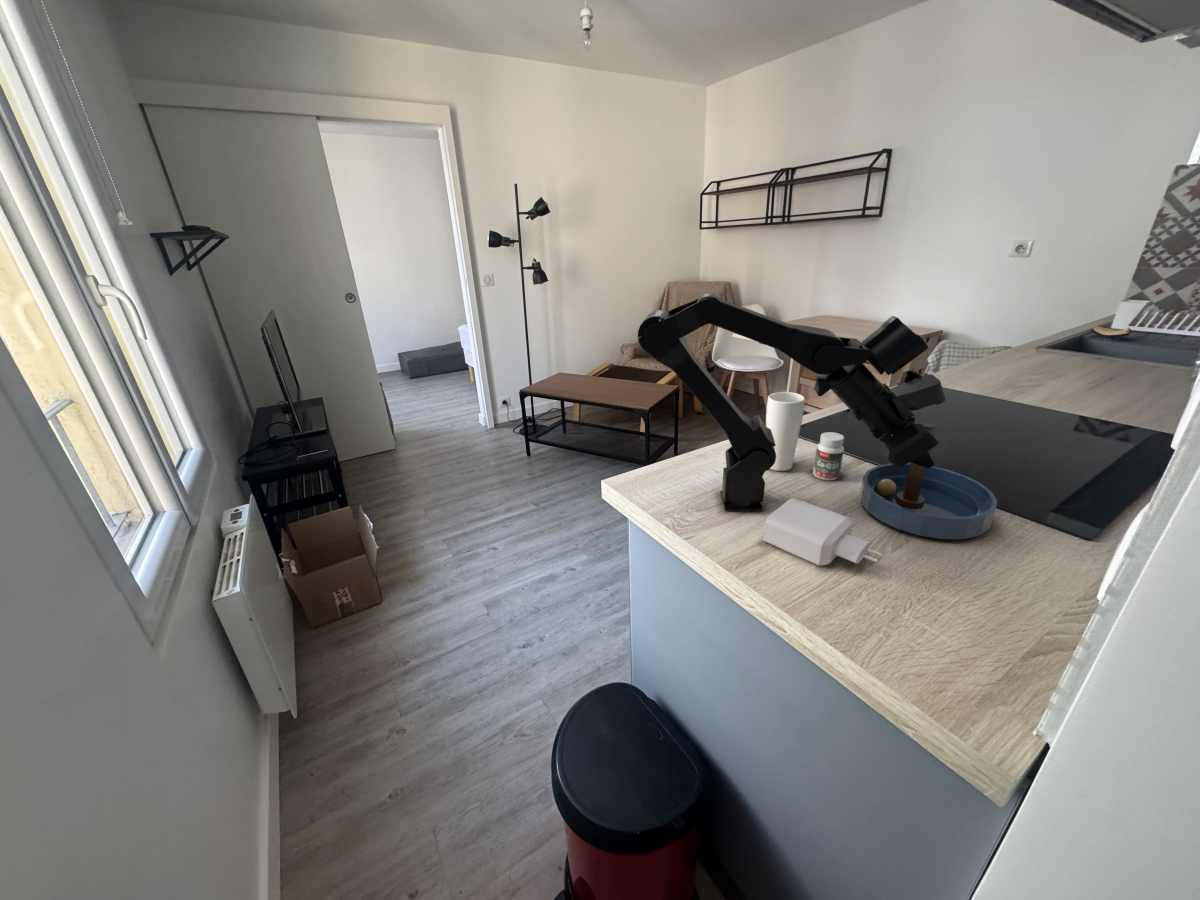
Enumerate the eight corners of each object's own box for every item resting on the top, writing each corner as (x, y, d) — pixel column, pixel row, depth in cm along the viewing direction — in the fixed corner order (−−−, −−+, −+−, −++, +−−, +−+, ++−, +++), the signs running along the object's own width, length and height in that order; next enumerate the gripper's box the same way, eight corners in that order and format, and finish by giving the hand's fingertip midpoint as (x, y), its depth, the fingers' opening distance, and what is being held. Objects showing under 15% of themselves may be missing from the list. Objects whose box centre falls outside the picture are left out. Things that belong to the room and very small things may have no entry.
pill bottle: (812, 479, 91) (818, 439, 87) (812, 468, 94) (818, 430, 91) (839, 482, 89) (847, 442, 85) (838, 471, 93) (845, 432, 89)
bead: (878, 487, 80) (871, 493, 83) (896, 495, 79) (888, 501, 82) (883, 473, 81) (876, 480, 84) (901, 481, 81) (893, 487, 83)
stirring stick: (915, 512, 75) (935, 431, 69) (890, 502, 78) (907, 424, 72) (928, 504, 77) (949, 425, 71) (903, 494, 80) (921, 418, 74)
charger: (863, 589, 63) (762, 543, 73) (888, 557, 69) (791, 519, 79) (870, 560, 61) (765, 518, 71) (895, 530, 67) (794, 495, 77)
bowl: (887, 543, 72) (893, 518, 70) (843, 484, 88) (847, 463, 86) (1017, 544, 69) (1027, 518, 68) (947, 484, 86) (953, 462, 84)
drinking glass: (799, 474, 93) (808, 403, 86) (763, 473, 94) (769, 402, 88) (793, 459, 98) (801, 391, 92) (759, 458, 100) (765, 391, 94)
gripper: (937, 376, 60) (1012, 458, 62) (895, 344, 77) (956, 409, 78) (859, 430, 66) (930, 504, 67) (835, 389, 82) (893, 449, 84)
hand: (928, 462), depth 74 cm, fingers closed on stirring stick, 2 cm apart
